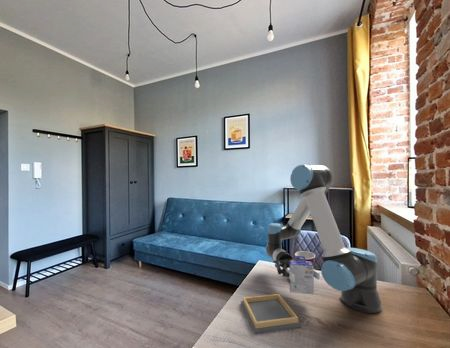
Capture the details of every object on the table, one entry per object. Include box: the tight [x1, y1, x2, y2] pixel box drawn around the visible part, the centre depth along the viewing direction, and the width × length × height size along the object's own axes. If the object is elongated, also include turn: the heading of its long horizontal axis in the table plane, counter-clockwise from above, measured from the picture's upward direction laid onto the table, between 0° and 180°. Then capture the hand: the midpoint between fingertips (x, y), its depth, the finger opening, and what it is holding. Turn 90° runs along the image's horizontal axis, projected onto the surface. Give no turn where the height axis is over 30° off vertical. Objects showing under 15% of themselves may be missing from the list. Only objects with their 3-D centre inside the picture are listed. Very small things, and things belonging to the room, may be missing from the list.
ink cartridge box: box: [288, 256, 315, 295], centre depth 96 cm, size 10×6×14 cm, turn 79°
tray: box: [240, 293, 302, 334], centre depth 88 cm, size 18×18×3 cm
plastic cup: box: [294, 250, 316, 265], centre depth 122 cm, size 11×11×12 cm
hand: (306, 277), depth 92 cm, fingers closed on ink cartridge box, 11 cm apart
